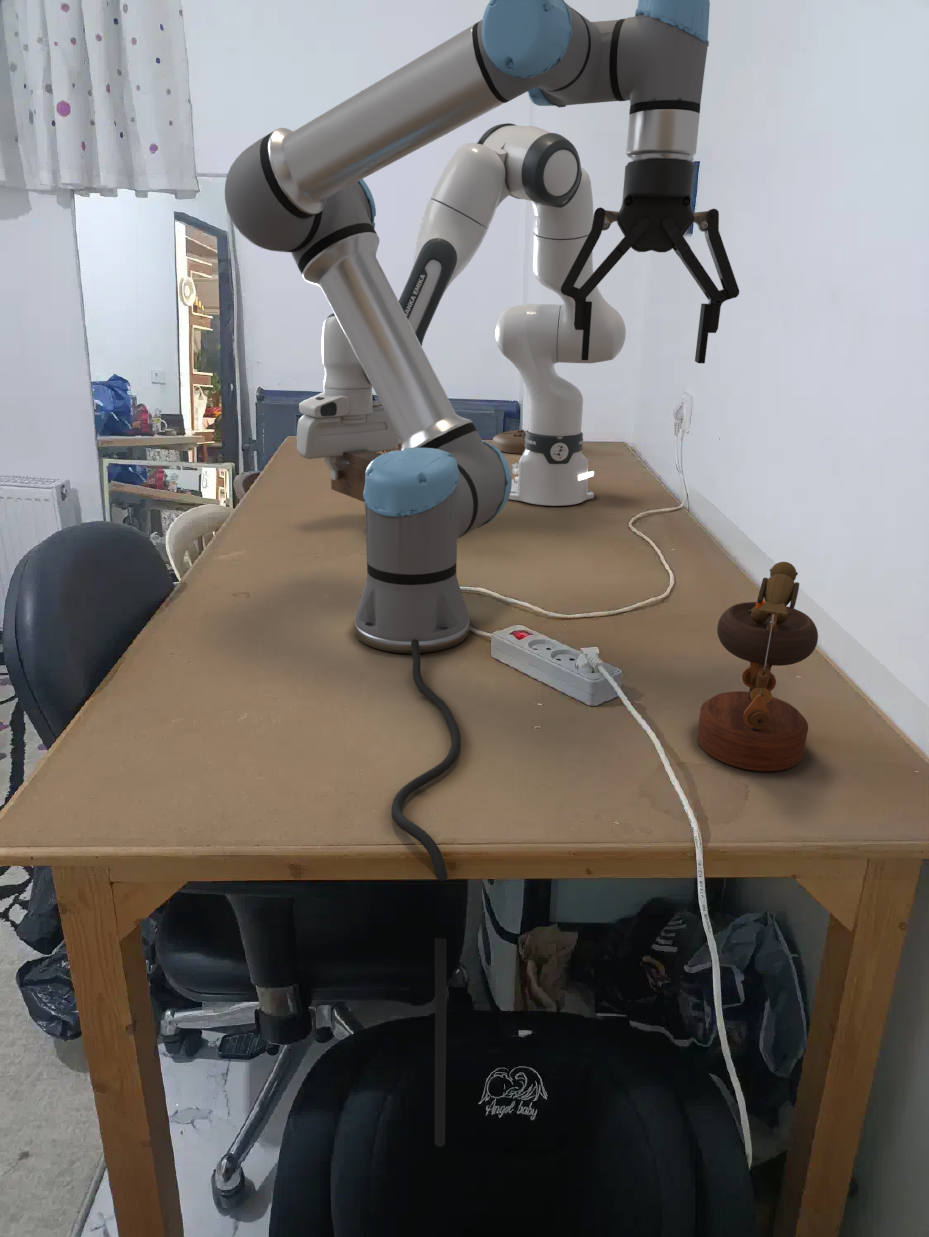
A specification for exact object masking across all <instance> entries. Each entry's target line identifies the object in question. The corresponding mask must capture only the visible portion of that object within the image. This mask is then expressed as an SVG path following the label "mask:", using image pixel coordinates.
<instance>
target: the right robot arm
mask: <svg viewBox="0 0 929 1237" xmlns="http://www.w3.org/2000/svg"><path fill="white" fill-rule="evenodd" d="M581 164H582V163H581V160H580V155H579V152H578V151H577V148H576V147H575V145H574V144H573V143H572V142H571V140H569V139H568V138H566V137H565V136H563V135H561V134H559V133H556V132H551V131H548V130H546V129H543V128H541V127H537V126H533V125H517V124H515V123H511V122H510V123H509V122H507V123H500V124H496V125H494V126H492V127H490V128H489V129H487V130H486V131H485V132H484V133H483V134H482V135H481V137H480V138H479V140H478V141H477V142H469V143H464V144H462V145H461V146H459V147H458V148H457V149H456V150H455V151H454V153H453V155H452V156H451V157H450V159H449V161H448V162H447V164H446V165H445V167H444V169H443V171H442V173H441V174H440V176H439V178H438V179H437V182H436V184H435V186H434V187H433V190H432V192H431V195H430V196H429V199H428V201H427V203H426V205H425V209H424V211H423V214H422V218H421V221H420V224H419V229H418V232H417V237H416V241H415V242H416V243H415V248H414V254H413V261H412V265H411V269H410V272H409V276H408V279H407V281H406V282H405V285H404V287H403V290H402V292H401V294H400V297H399V299H398V301H399V303H400V305H401V307H402V309H403V311H404V313H405V315H406V317H407V319H408V321H409V323H410V325H411V327H412V329H413V331H414V332H415V334H416V336H417V338H418V340H419V342H420V344H421V346H422V347H423V343H424V339H425V336H426V333H427V332H428V329H429V327H430V325H431V322H432V321H433V317H434V316H435V313H436V312H437V310H438V306H439V304H440V302H441V300H442V298H443V296H444V294H445V292H446V291H447V290H448V288H449V286H451V284H452V283H453V282H454V280H455V279H456V278H458V276H459V275H460V274H461V273H462V272H463V271H464V270H465V269H466V267H467V266H468V265H469V263H470V262H471V261H472V259H473V258H474V257H475V255H476V253H477V252H478V250H479V248H480V246H482V243H483V241H484V239H485V237H486V235H487V232H488V231H489V228H490V226H491V224H492V221H493V219H494V216H495V214H496V211H497V209H498V207H500V205H501V203H502V202H503V201H504V200H505V199H506V198H507V197H512V198H514V199H517V200H524V201H530V202H531V204H532V208H533V224H532V227H533V228H532V230H533V231H532V271H533V274H534V277H535V278H536V280H537V282H539V283H540V284H541V285H542V286H544V287H545V288H547V289H548V290H551V291H552V292H554V293H555V294H557V295H558V296H559V297H560V299H561V300H562V302H563V303H562V304H555V303H554V304H553V303H552V304H549V303H548V304H547V303H526V304H520V305H515V306H510V307H507V308H505V310H504V311H502V312H501V314H500V315H499V317H498V319H497V322H496V325H495V332H494V334H495V342H496V346H497V348H498V349H499V351H500V352H501V354H502V355H503V356H504V357H505V358H506V359H507V360H508V361H510V362H511V364H513V365H514V367H515V368H516V369H517V371H518V373H519V374H520V376H521V378H522V379H523V380H522V381H523V382H524V385H525V389H526V393H527V394H526V395H527V410H528V411H527V412H528V416H527V417H528V418H527V420H528V421H527V430H525V431H526V436H525V445H524V446H525V451H524V453H523V454H521V456H520V459H519V460H518V462H515V463H511V475H518V476H514V478H512V487H511V492H510V495H509V499H508V500H510V501H511V500H512V501H519V502H523V503H526V504H527V503H528V504H531V505H538V506H549V507H550V506H551V507H557V506H558V507H559V506H560V507H561V506H573V505H579V504H580V503H583V502H585V501H587V500H592V499H594V498H595V493H594V492H593V491H591V490H589V488H588V487H589V484H588V483H589V478H591V477H594V475H595V471H594V470H592V471H589V460H588V459H587V458H586V456H584V454H583V453H582V450H583V443H584V434H583V431H582V425H583V424H582V423H583V410H584V397H583V393H582V392H581V390H580V389H579V388H578V386H576V385H574V384H573V383H572V382H570V381H568V380H566V379H565V378H563V377H561V376H560V375H558V373H557V371H556V369H555V364H559V363H562V364H563V363H564V364H565V363H566V364H567V363H568V364H597V363H602V362H603V363H604V362H609V361H613V360H615V358H616V357H617V356H618V355H619V354H620V352H621V351H622V349H623V348H624V345H625V342H626V337H627V330H626V324H625V320H624V319H623V316H622V314H620V311H618V310H617V309H616V308H614V307H613V306H612V305H611V304H610V303H609V302H608V301H607V300H606V299H605V298H604V296H603V294H602V293H601V291H600V289H599V287H598V285H597V286H596V287H595V288H594V289H593V291H592V292H591V293H590V294H589V295H588V296H587V297H586V301H591V302H592V311H591V326H590V340H589V355H588V360H582V359H581V354H582V338H583V330H575V327H574V314H575V301H574V299H573V298H571V297H569V296H566V295H564V294H563V293H562V292H561V286H562V284H563V282H564V281H565V279H566V277H567V275H568V273H569V271H570V269H571V267H572V265H573V263H574V262H575V260H576V258H577V256H578V254H579V252H580V250H581V248H582V246H583V244H584V243H585V241H586V239H587V237H588V235H589V233H590V231H591V228H592V222H593V216H594V200H593V197H594V196H593V190H592V189H593V188H592V182H591V177H590V175H589V173H588V171H587V170H586V169H585V168H583V167H582V165H581ZM593 260H594V259H593V251H592V252H591V254H590V256H589V258H588V260H587V262H586V264H585V266H584V267H583V269H582V271H581V273H580V275H579V277H578V279H577V281H576V283H575V284H574V287H576V288H579V289H580V288H581V286H582V285H583V284H584V283H585V282H586V281H587V279H588V278H589V277H590V276H591V275H592V274H593V273H594V265H593V264H594V263H593V262H594V261H593ZM321 359H322V360H321V361H322V365H323V367H324V368H323V369H324V380H323V391H322V392H320V393H318V394H316V395H314V396H311V397H309V398H307V399H304V400H302V401H300V402H299V404H298V411H299V413H300V414H302V416H300V418H299V419H298V421H297V428H296V451H297V453H298V454H299V456H301V457H302V458H304V459H307V460H314V459H315V460H316V459H324V463H325V464H326V466H327V468H328V469H329V470H330V480H331V479H333V480H340V479H342V470H339V469H337V468H336V466H335V464H334V462H336V456H342V455H343V452H349V451H357V450H369V451H373V452H376V453H378V452H385V451H395V450H396V449H398V447H399V445H400V439H399V437H398V435H397V433H396V431H395V429H394V427H393V425H392V423H391V421H390V419H389V418H388V416H387V414H386V412H385V410H384V408H383V406H382V404H381V402H380V400H376V401H372V394H373V387H372V385H371V383H370V381H369V379H368V377H367V375H366V373H365V371H364V369H363V367H362V366H361V364H360V362H359V360H358V358H357V356H356V354H355V352H354V350H353V348H352V346H351V344H350V342H349V340H348V339H347V337H346V335H345V333H344V331H343V329H342V327H341V325H340V323H339V321H338V319H337V317H336V315H335V314H334V312H333V313H331V314H329V315H328V316H327V317H326V318H325V320H324V322H323V326H322V333H321Z"/></svg>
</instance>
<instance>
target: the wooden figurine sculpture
mask: <svg viewBox="0 0 929 1237" xmlns="http://www.w3.org/2000/svg"><path fill="white" fill-rule="evenodd" d="M798 574H799V572H797V569H796V567H795V566H794V565H793V564H792V563H791V562H788V561H779V562H777V563H775V564H774V565H773V566H772V567H771V568H769V575H770V576H769V577H763V578H762V581H761V585H760V588H759V592H758V596H757V600H756V601H747V602H740V603H737V604H734V605H732V606H730V607H728V608H727V609H725V611H723V612H722V614H721V615H720V617H719V620H718V622H717V628H716V632H717V637H718V640H719V641H720V644H721V645H722V646H723V648H724V649H725V650H726V651H727V652H728V653H730V654H731V655H733V656H735V657H736V658H738V659H741V660H743V661H747V662H749V666H747V667H746V668H745V669H744V670H743V672H742V673H741V678H742V679H741V680H742V683H743V684H744V685H745V686H746V687H748V688H749V689H748V691H745V690H744V691H743V690H739V691H737V690H735V691H734V690H733V691H725V692H722V693H719V694H716V695H714V696H712V697H711V698H708V699H707V700H705V701H704V702H703V703H702V705H701V706H700V709H699V710H700V711H699V718H698V724H697V732H696V739H697V742H698V744H699V746H700V748H702V750H703V751H704V752H706V753H707V754H708V755H710V756H711V757H712V758H714V759H716V760H718V761H719V762H722V763H724V764H726V765H729V766H731V767H732V766H733V767H736V768H739V769H743V770H748V771H753V772H754V771H755V772H778V771H783V770H787V769H791V768H792V767H794V766H795V767H796V765H798V764H799V763H800V762H801V761H802V759H803V757H804V752H805V747H806V742H807V737H808V732H809V724H808V721H807V720H806V718H805V716H803V715H802V714H801V712H800V711H799V710H798V709H797V708H796V707H795V706H794V705H792V704H790V703H788V702H786V701H784V700H783V699H781V698H778V697H774V696H772V691H773V690H774V689H775V687H776V685H777V679H776V676H775V675H774V674H773V673H772V671H771V670H772V668H773V667H774V666H777V667H779V666H790V665H795V664H797V663H800V662H802V661H804V660H806V659H808V658H809V657H810V656H811V655H812V654H813V653H814V651H815V649H816V647H817V645H818V641H819V631H818V628H817V626H816V624H815V622H814V621H813V619H812V618H811V617H810V616H809V615H807V614H806V613H805V612H803V611H801V610H799V609H796V608H795V606H796V603H797V598H798V595H799V588H800V583H799V582H797V581H796V578H797V576H798ZM788 605H789V606H788Z"/></svg>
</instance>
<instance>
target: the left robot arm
mask: <svg viewBox="0 0 929 1237" xmlns="http://www.w3.org/2000/svg"><path fill="white" fill-rule="evenodd" d="M710 6H711V0H638V1H637V8H636V9H635V13H634V14H635V15H634V16H630V17H626V18H620V19H613V20H598V21H590V20H589V19H588V18H586V17H585V16H584V15H583V14H581V13H580V12H578V10H576V9H575V8H573V7H572V6H570V5H569V4H568V3H567V2H566V1H565V0H490V1H489V2H488V4H487V5H486V6H485V9H484V12H483V16H482V18H481V20H479V21H477V22H476V23H474V24H472V25H471V26H469V27H467V28H465V29H464V30H462V31H460V32H459V33H456V34H455V35H454V36H452V37H450V38H448V39H447V40H445V41H443V42H441V43H440V44H438V45H436V46H435V47H433V48H432V49H430V50H428V51H427V52H425V53H423V54H422V55H420V56H418V57H416V58H415V59H413V60H411V61H409V62H408V63H406V64H405V65H403V66H401V67H400V68H398V69H396V70H395V71H393V72H391V73H389V74H388V75H386V76H384V77H382V78H381V79H379V80H378V81H375V82H374V83H373V84H370V85H369V86H368V87H365V88H364V89H363V90H361V91H359V92H357V93H356V94H354V95H352V96H351V97H349V98H347V99H345V100H343V101H342V102H341V103H339V104H337V105H335V106H334V107H332V108H330V109H329V110H327V111H325V112H324V113H322V114H320V115H319V116H317V117H315V118H314V119H311V120H310V121H309V122H307V123H305V124H303V125H302V126H300V127H298V128H297V129H295V130H291V129H289V128H286V127H278V128H277V129H275V130H273V131H272V132H270V133H267V134H266V135H265V136H263V137H261V138H259V139H258V140H257V141H255V142H254V143H252V144H251V145H249V146H248V147H247V148H245V149H244V150H243V151H242V152H240V154H239V155H238V156H237V157H236V158H235V159H234V161H233V163H232V164H231V165H230V168H229V170H228V172H227V174H226V179H225V184H224V202H225V206H226V211H227V213H228V216H229V218H230V221H231V222H232V224H233V226H234V227H235V229H236V230H237V232H239V233H240V235H241V236H242V237H243V238H244V239H246V240H247V241H248V242H249V243H251V244H252V245H253V246H255V247H258V248H260V249H262V250H265V251H268V252H277V253H289V254H290V255H291V257H292V259H293V261H294V263H295V265H296V266H297V268H298V270H299V272H300V274H301V276H302V278H303V280H304V281H305V282H306V283H310V284H312V285H315V286H318V287H320V289H321V290H322V292H323V294H324V296H325V298H326V300H327V302H328V304H329V306H330V308H331V310H332V312H333V313H334V314H335V315H336V317H337V319H338V321H339V323H340V325H341V327H342V329H343V331H344V333H345V335H346V337H347V339H348V340H349V342H350V344H351V346H352V348H353V350H354V352H355V354H356V356H357V358H358V360H359V362H360V364H361V366H362V367H363V369H364V371H365V373H366V375H367V377H368V379H369V381H370V383H371V385H372V390H374V391H373V392H375V395H376V396H377V398H378V401H380V402H381V404H382V406H383V408H384V410H385V412H386V414H387V416H388V418H389V419H390V421H391V423H392V425H393V427H394V429H395V431H396V433H397V435H398V437H399V442H400V443H401V448H400V450H396V449H395V450H390V451H388V452H385V453H382V454H383V455H380V456H378V457H377V458H375V459H374V460H373V461H372V462H371V463H370V464H369V465H368V467H367V469H366V473H365V486H364V493H363V498H364V501H365V502H364V517H365V518H364V520H365V545H366V546H365V548H366V579H365V584H364V586H363V589H362V592H361V594H360V600H359V602H358V606H357V609H356V612H355V617H354V633H355V636H356V638H357V639H358V640H359V641H360V642H362V643H363V644H365V645H367V646H368V647H371V648H374V649H377V650H380V651H384V652H390V653H396V654H397V653H398V654H411V655H412V679H413V681H414V683H415V685H416V687H417V688H418V690H419V691H420V692H421V693H422V694H423V696H424V697H425V698H426V699H428V700H429V701H430V702H431V703H432V704H433V705H434V706H435V707H436V708H437V709H438V710H439V711H440V712H441V715H442V716H443V718H444V720H445V723H446V725H447V727H448V730H449V732H450V737H451V745H450V748H449V751H448V753H447V755H446V756H445V758H444V759H443V760H442V761H440V763H438V764H437V765H435V766H434V767H433V768H431V769H429V770H428V771H425V772H424V773H422V774H420V775H419V776H416V777H415V778H414V779H412V780H410V781H409V782H408V783H406V784H405V785H404V786H402V787H401V788H400V790H398V792H397V793H396V794H395V796H394V798H393V800H392V803H391V817H392V820H393V822H394V823H395V824H396V826H398V827H399V828H400V829H401V830H402V831H404V832H405V833H407V834H408V835H410V836H411V837H412V838H414V839H415V840H417V841H418V843H420V844H421V845H422V846H423V848H424V849H425V850H426V851H427V853H428V855H429V857H430V859H431V862H432V865H433V869H434V874H435V878H436V879H437V880H438V881H441V882H444V881H446V880H448V871H447V866H446V863H445V860H444V857H443V854H442V851H441V849H440V847H439V846H438V845H437V843H436V841H435V840H434V839H433V838H432V836H431V835H429V833H428V832H427V831H426V830H425V829H423V828H422V827H420V825H417V824H416V823H414V822H413V821H411V820H410V819H408V818H407V817H406V816H405V815H404V813H403V806H404V803H405V801H406V800H407V798H408V797H409V796H410V795H411V794H412V793H414V792H415V791H417V790H418V789H419V788H421V787H423V786H425V785H427V784H428V783H430V782H432V781H433V780H435V779H436V778H438V777H439V776H441V775H443V774H444V773H445V772H446V771H448V770H449V769H450V768H451V767H452V766H453V765H454V763H456V760H457V759H458V757H459V755H460V750H461V744H462V737H461V732H460V728H459V726H458V723H457V721H456V718H455V717H454V715H453V713H452V711H451V709H450V708H449V706H448V704H446V702H444V700H443V699H442V698H441V697H440V696H438V694H436V693H435V692H434V691H433V690H432V689H431V688H430V687H429V686H428V685H427V684H426V683H425V681H424V679H423V677H422V672H421V669H422V668H421V665H422V662H421V654H425V653H433V652H439V651H443V650H446V649H449V648H452V647H455V646H457V645H458V644H460V643H462V642H463V641H464V640H466V639H467V637H468V636H469V634H470V616H469V612H468V608H467V606H466V601H465V599H464V596H463V593H462V589H461V586H460V583H459V581H458V577H457V561H458V560H457V559H458V558H457V557H458V556H457V554H458V539H460V538H462V537H463V536H465V535H467V534H469V533H471V532H472V531H474V530H477V529H479V528H481V527H483V526H486V525H487V524H489V523H490V522H491V521H492V520H493V519H494V518H495V517H496V516H498V515H499V514H500V513H501V512H502V510H504V508H505V506H506V505H507V503H508V501H509V500H510V499H509V495H510V492H511V487H512V479H513V478H512V477H513V476H512V470H511V467H510V465H509V462H508V460H507V458H506V456H505V455H504V454H503V453H502V451H499V449H497V448H496V447H495V446H493V444H491V443H489V442H487V441H485V440H482V438H481V435H480V434H479V432H478V430H477V428H476V426H475V425H474V422H473V421H472V420H471V419H469V418H466V417H463V416H460V415H459V414H457V413H456V410H455V409H454V407H453V404H452V403H451V401H450V399H449V397H448V395H447V393H446V391H445V390H444V387H443V385H442V384H441V382H440V379H439V378H438V376H437V374H436V371H435V370H434V368H433V366H432V364H431V362H430V360H429V358H428V356H427V354H426V352H425V350H424V347H423V345H422V346H421V344H420V342H419V340H418V338H417V336H416V334H415V332H414V331H413V329H412V327H411V325H410V323H409V321H408V319H407V317H406V315H405V313H404V311H403V309H402V307H401V305H400V303H399V299H398V297H397V295H396V293H395V291H394V290H393V287H392V286H391V283H390V282H389V280H388V278H387V276H386V273H385V272H384V270H383V268H382V266H381V263H380V262H379V260H378V258H377V252H378V248H379V245H380V238H379V235H378V233H377V231H376V229H375V228H376V222H375V217H376V216H377V209H376V203H375V199H374V197H373V194H372V191H371V189H370V187H369V185H368V184H367V183H366V181H365V180H364V179H365V178H367V177H369V176H371V175H372V174H374V173H376V172H378V171H380V170H382V169H384V168H386V167H388V166H389V165H392V164H394V163H396V162H397V161H399V160H401V159H403V158H405V157H406V156H408V155H410V154H412V153H414V152H415V151H417V150H420V149H421V148H423V147H425V146H427V145H429V144H431V143H432V142H435V141H436V140H438V139H440V138H442V137H444V136H445V135H448V134H449V133H452V132H453V131H455V130H457V129H458V128H460V127H462V126H464V125H466V124H468V123H470V122H472V121H473V120H476V119H478V118H479V117H481V116H483V115H485V114H487V113H488V112H490V111H493V110H494V109H496V108H498V107H500V106H501V105H503V104H506V103H509V102H510V101H512V100H514V99H516V98H519V97H520V96H522V95H524V94H525V93H527V96H528V98H529V100H530V101H531V103H532V104H534V105H535V106H539V107H557V108H566V107H567V106H574V105H575V106H576V105H585V104H587V105H588V104H597V103H598V104H599V103H609V102H610V103H611V102H627V101H629V113H628V127H627V128H628V129H627V138H626V153H625V154H626V156H627V157H628V158H629V159H630V161H628V162H627V164H626V165H625V166H624V177H623V190H622V202H621V207H620V209H619V211H614V210H608V209H605V208H603V207H597V208H596V209H595V211H593V222H592V228H591V231H590V233H589V235H588V237H587V239H586V241H585V243H584V244H583V246H582V248H581V250H580V252H579V254H578V256H577V258H576V260H575V262H574V263H573V265H572V267H571V269H570V271H569V273H568V275H567V277H566V279H565V281H564V282H563V284H562V286H561V292H562V293H563V294H564V295H566V296H569V297H571V298H573V299H574V301H575V314H574V327H575V330H583V338H582V354H581V359H582V360H588V355H589V340H590V326H591V311H592V302H591V301H586V297H587V296H588V295H589V294H590V293H591V292H592V291H593V289H594V288H595V287H596V286H597V287H598V285H599V284H600V283H601V282H602V281H603V279H604V278H605V277H606V276H607V275H608V274H609V273H610V271H611V270H612V269H613V268H614V267H615V266H616V265H617V263H618V262H619V261H620V260H621V259H622V258H623V256H624V255H625V254H626V253H627V252H628V251H629V250H630V249H632V250H633V251H634V252H637V253H646V252H650V251H652V252H655V253H668V252H670V251H672V250H673V251H674V253H675V254H676V255H677V257H678V258H679V259H680V261H681V262H682V263H683V265H684V266H685V269H687V272H689V274H690V275H691V277H692V278H693V280H694V281H695V283H696V284H697V286H698V287H699V288H700V290H701V292H702V293H703V294H704V297H706V299H707V300H708V303H701V304H700V313H699V321H698V329H697V336H696V347H695V354H694V355H695V356H694V362H695V363H697V364H705V363H706V357H707V348H708V338H709V334H716V333H717V331H719V330H718V329H719V326H720V325H719V324H720V316H721V309H722V305H723V303H724V302H726V301H730V300H732V299H736V298H737V297H738V296H739V295H740V288H739V285H738V282H737V280H736V277H735V273H734V271H733V268H732V265H731V262H730V259H729V256H728V254H727V251H726V247H725V245H724V242H723V239H722V235H721V233H720V214H719V213H720V212H719V210H718V209H717V208H711V209H708V210H704V211H697V212H694V211H693V209H692V195H693V194H692V193H693V187H694V186H693V185H694V177H695V176H694V175H695V164H694V163H693V161H691V158H693V157H695V155H696V154H697V148H698V138H699V126H700V116H701V114H700V113H701V102H702V97H703V96H702V95H703V88H704V79H705V69H706V63H707V55H708V47H709V45H710V40H709V24H710V9H711V8H710ZM613 223H616V224H617V226H618V228H619V230H620V231H621V233H622V234H623V238H622V239H621V240H620V241H619V242H618V244H616V246H615V247H614V248H613V250H611V252H610V253H609V254H608V255H607V256H606V258H605V259H604V260H603V261H602V262H601V263H600V264H599V266H598V267H596V269H595V270H593V274H592V275H591V276H590V277H589V278H588V279H587V281H586V282H585V283H584V284H583V285H582V286H581V288H580V289H579V288H576V287H574V284H575V283H576V281H577V279H578V277H579V275H580V273H581V271H582V269H583V267H584V266H585V264H586V262H587V260H588V258H589V256H590V254H591V252H592V253H593V251H594V249H595V247H596V245H597V243H598V241H599V239H600V237H601V236H602V232H603V231H608V230H609V229H610V227H611V225H612V224H613ZM693 224H695V225H697V228H698V231H699V232H701V233H704V238H705V242H706V243H707V247H708V249H709V253H710V255H711V258H712V261H713V264H714V267H715V270H716V273H717V276H718V279H719V281H720V284H721V287H722V289H720V290H719V288H718V287H717V285H716V284H715V282H714V281H713V279H712V278H711V277H710V275H709V274H708V272H707V271H706V269H705V267H704V266H703V265H702V263H701V262H700V260H699V259H698V257H697V256H696V254H695V252H694V251H693V250H692V248H691V245H690V244H689V243H688V241H687V240H686V239H685V237H684V236H685V234H686V233H687V232H688V230H689V229H690V227H691V226H692V225H693ZM434 986H435V987H434V1017H435V1018H434V1032H435V1033H434V1144H435V1146H436V1147H439V1148H440V1147H443V1146H444V1145H445V1144H446V1083H447V1082H446V1079H447V1078H446V1077H447V1076H446V1074H447V1073H446V1072H447V1068H446V1067H447V938H444V937H434Z"/></svg>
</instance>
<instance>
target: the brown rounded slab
mask: <svg viewBox="0 0 929 1237" xmlns="http://www.w3.org/2000/svg"><path fill="white" fill-rule="evenodd" d="M526 431H527V430H524V429H523V428H522V429H516V430H509V431H504V432H500V433H497V434H495V435H494V436H493V437H492V445H493V446H495V447H496V448H497V449H499V451H500V452H503V453H509V454H518V455H519V454H520V455H522V454H523V453H524V451H525V446H524V445H525V436H526Z"/></svg>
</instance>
